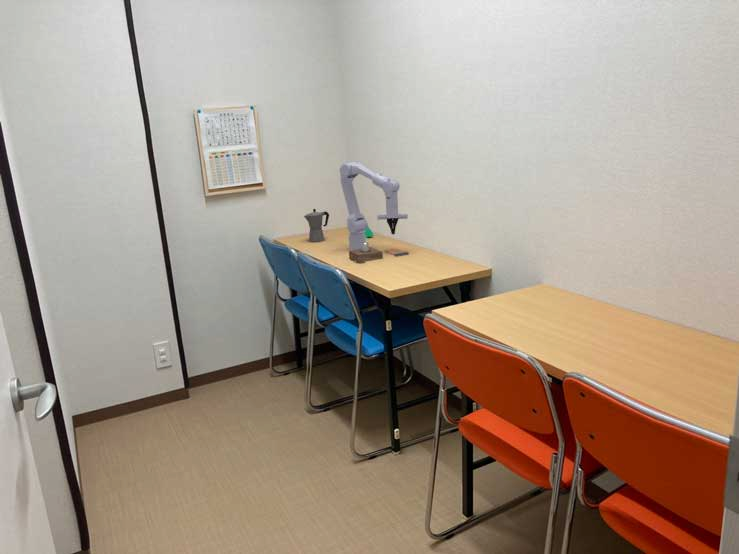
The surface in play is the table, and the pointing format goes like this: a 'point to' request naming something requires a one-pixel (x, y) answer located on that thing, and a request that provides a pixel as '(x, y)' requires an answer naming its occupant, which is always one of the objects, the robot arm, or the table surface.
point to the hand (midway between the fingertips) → (393, 233)
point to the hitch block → (365, 255)
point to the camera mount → (368, 233)
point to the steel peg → (365, 247)
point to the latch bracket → (401, 254)
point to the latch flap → (393, 251)
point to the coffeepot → (316, 225)
